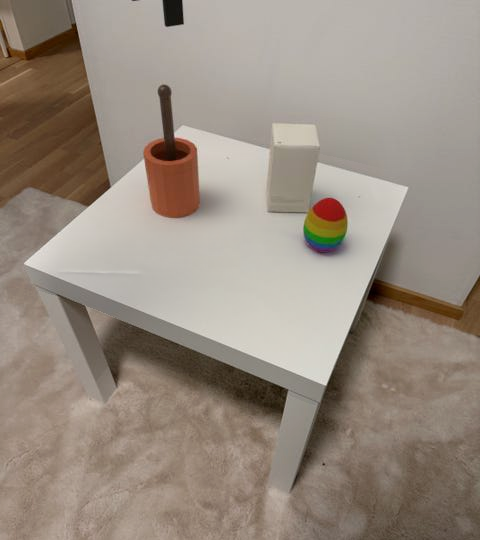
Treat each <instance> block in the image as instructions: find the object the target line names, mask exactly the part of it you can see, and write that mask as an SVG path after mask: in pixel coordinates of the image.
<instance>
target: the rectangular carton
mask: <svg viewBox="0 0 480 540" xmlns="http://www.w3.org/2000/svg"><path fill="white" fill-rule="evenodd" d="M317 130H318V129H317V125H316V124H312V123H311V124H308V123H307V124H306V123H301V124H300V123H283V122H274V123H271V130H270V131H271V132H270V143H269V158H268V166H267V168H268V169H267V181H266V206H267V207H266V208H267V212H276V213H278V212H279V213H280V212H281V213H304V214H305V213H306V214H308V212H309V210H310V206H311V201H312V195H313V188H314V183H315V178H316V172H317V166H318V161H319V155H320V149H321V145H320V140H319V135H318V131H317Z"/></svg>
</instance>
